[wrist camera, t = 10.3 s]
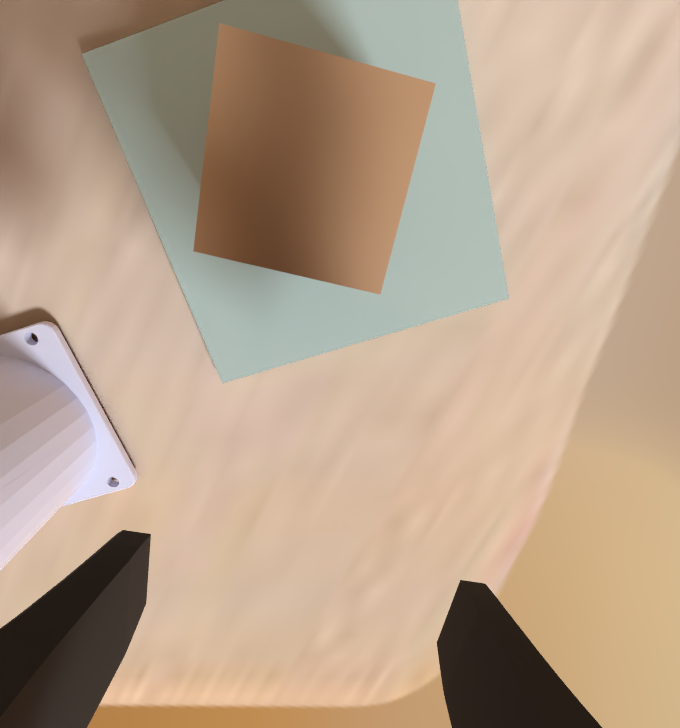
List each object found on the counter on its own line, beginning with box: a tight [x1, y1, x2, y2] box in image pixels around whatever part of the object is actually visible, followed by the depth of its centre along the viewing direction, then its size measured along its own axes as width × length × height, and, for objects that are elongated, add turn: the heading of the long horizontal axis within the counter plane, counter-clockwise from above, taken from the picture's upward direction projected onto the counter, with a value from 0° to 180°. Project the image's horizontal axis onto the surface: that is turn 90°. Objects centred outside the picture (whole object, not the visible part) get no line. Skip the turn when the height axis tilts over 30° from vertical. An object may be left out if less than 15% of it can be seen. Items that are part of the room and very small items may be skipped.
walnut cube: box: [193, 23, 436, 294], centre depth 13 cm, size 5×5×5 cm
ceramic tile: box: [81, 0, 509, 383], centre depth 15 cm, size 12×12×1 cm
